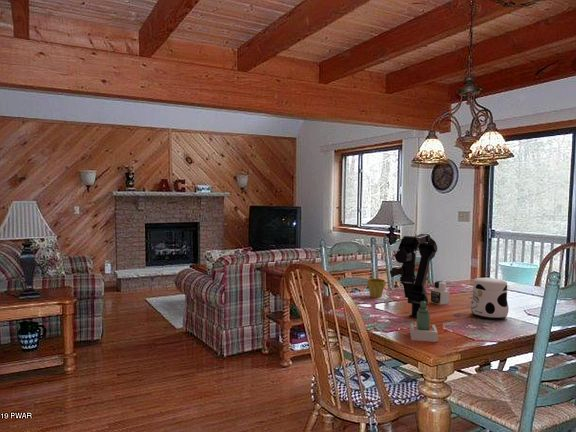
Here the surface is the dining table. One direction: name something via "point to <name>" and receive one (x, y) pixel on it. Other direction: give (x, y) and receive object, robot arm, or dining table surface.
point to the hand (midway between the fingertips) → (406, 296)
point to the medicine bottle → (440, 293)
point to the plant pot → (376, 287)
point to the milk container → (489, 298)
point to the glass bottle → (423, 317)
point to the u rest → (424, 334)
